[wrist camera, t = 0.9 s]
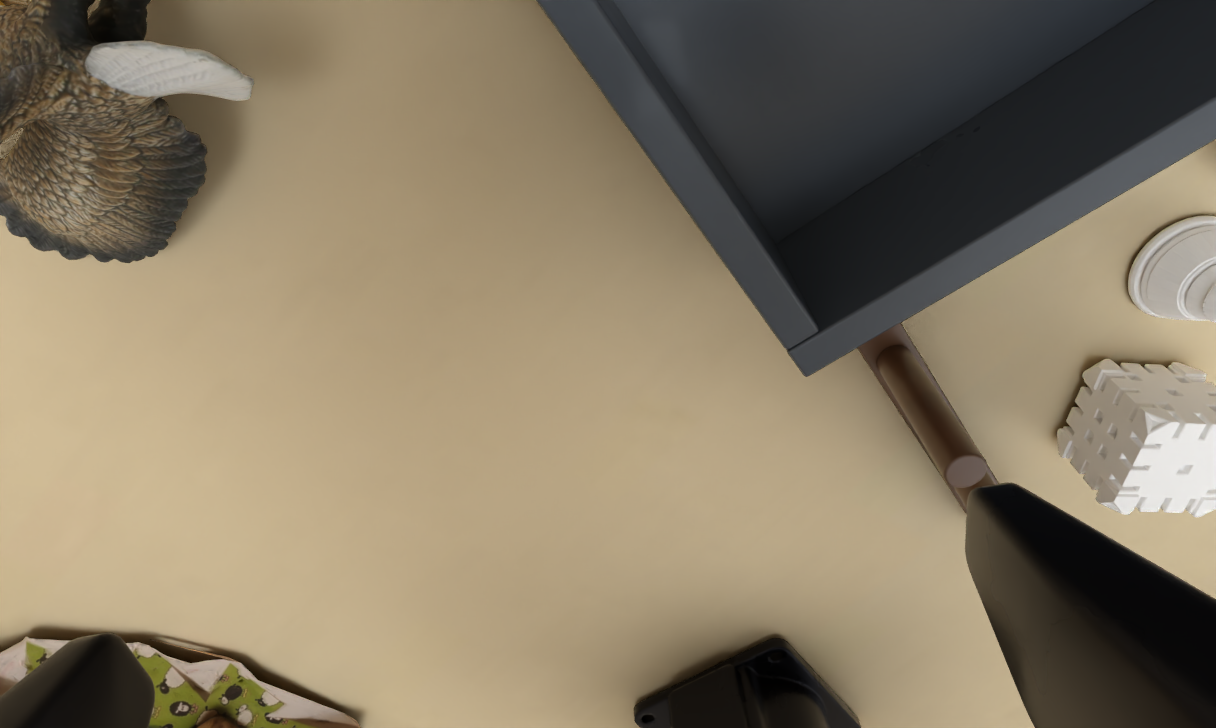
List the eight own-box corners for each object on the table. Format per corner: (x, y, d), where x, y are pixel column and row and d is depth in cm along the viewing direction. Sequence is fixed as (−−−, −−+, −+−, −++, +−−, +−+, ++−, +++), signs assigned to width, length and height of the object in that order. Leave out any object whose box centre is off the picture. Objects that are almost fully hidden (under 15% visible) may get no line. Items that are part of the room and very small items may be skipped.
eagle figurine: (-162, -290, 14) (-314, 155, 16) (-155, -223, 10) (-361, 364, 12) (253, -37, 20) (101, 265, 22) (367, 72, 16) (166, 431, 18)
